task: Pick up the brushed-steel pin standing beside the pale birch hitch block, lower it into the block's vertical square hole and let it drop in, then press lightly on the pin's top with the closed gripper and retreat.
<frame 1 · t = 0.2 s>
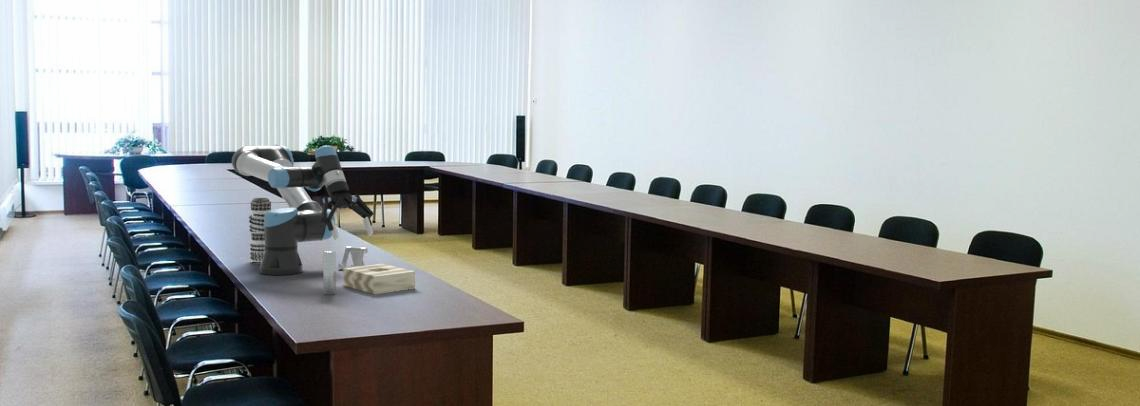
hand: (353, 236, 339), 16 cm above the table, fingers open, 13 cm apart
portable electronic device stand: (353, 269, 362), on the table
decorative candle: (261, 261, 375), on the table
steel pin: (329, 293, 314), on the table
hitch block: (378, 287, 327), on the table
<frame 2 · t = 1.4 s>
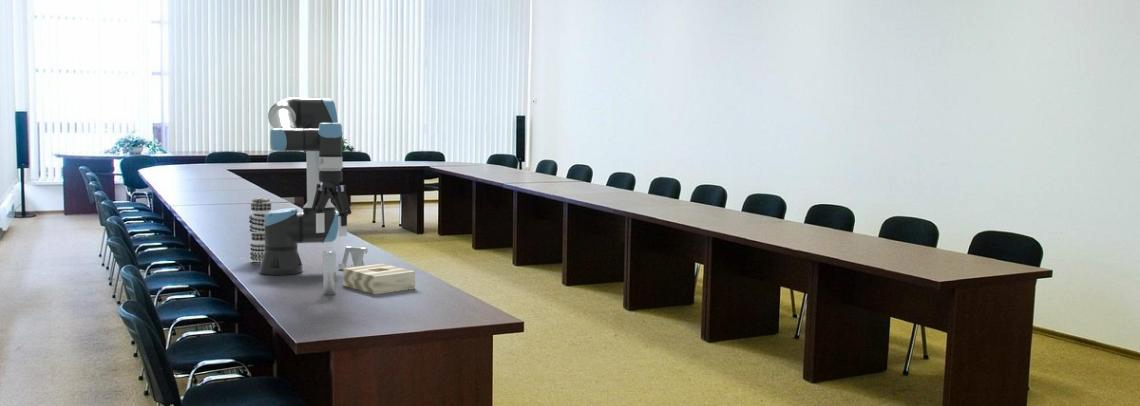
hand: (331, 234, 313), 20 cm above the table, fingers open, 13 cm apart
nothing on the table moved.
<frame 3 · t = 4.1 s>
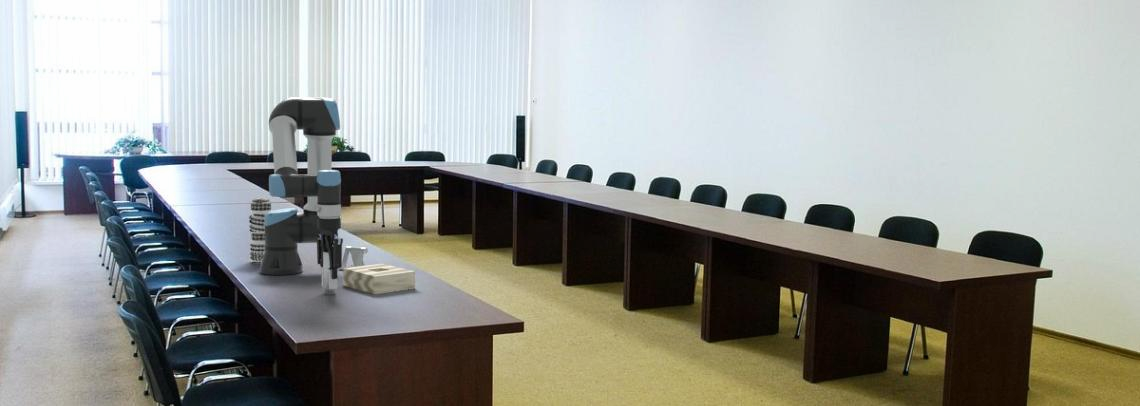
hand: (329, 287, 314), 2 cm above the table, fingers closed on steel pin, 4 cm apart
steel pin: (329, 293, 314), on the table, touching gripper
everything else where it was.
when the fingers open (9 cm above the table, at t = 10.4 s): steel pin drops 6 cm, resting in hitch block.
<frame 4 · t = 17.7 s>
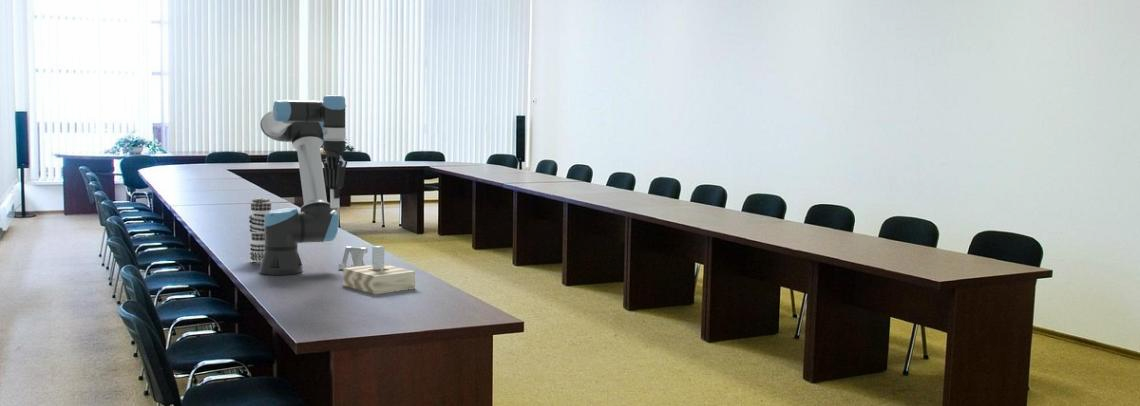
hand: (334, 207, 332), 26 cm above the table, fingers closed
steel pin: (378, 286, 328), resting in hitch block
everything else where it was.
at the end: steel pin 0.2 cm off-centre on the hitch block, point 0.0 cm above the hitch block's base; steel pin tilted 0°; the gripper is holding nothing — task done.
